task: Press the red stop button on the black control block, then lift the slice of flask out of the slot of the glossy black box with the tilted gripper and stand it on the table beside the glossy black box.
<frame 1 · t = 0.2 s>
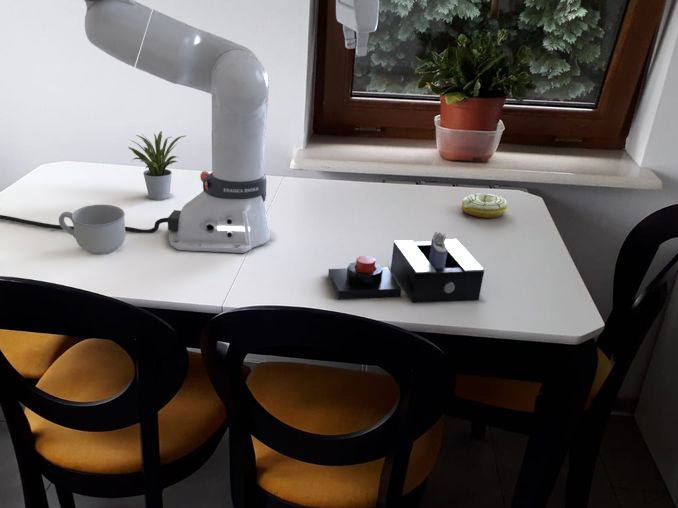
hand: (355, 51, 140), 39 cm above the table, tool pointing down, fingers open, 8 cm apart
teacup: (95, 248, 150), on the table
decorated donut: (482, 213, 175), on the table
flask: (432, 285, 138), resting in glossy black box
stop button: (365, 264, 134), point 5 cm above the table, slide at 0.1 cm
control block: (363, 286, 136), on the table
house plant: (162, 195, 181), on the table
glossy black box: (432, 284, 138), on the table
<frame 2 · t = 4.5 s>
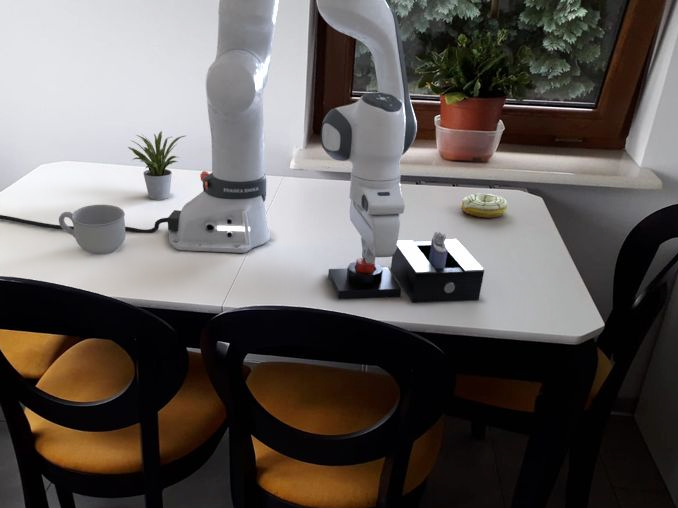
hand: (368, 260, 134), 5 cm above the table, tool pointing down, fingers closed, pressing on stop button
stop button: (365, 266, 134), point 4 cm above the table, slide at -0.2 cm, touching gripper
everything else where it was.
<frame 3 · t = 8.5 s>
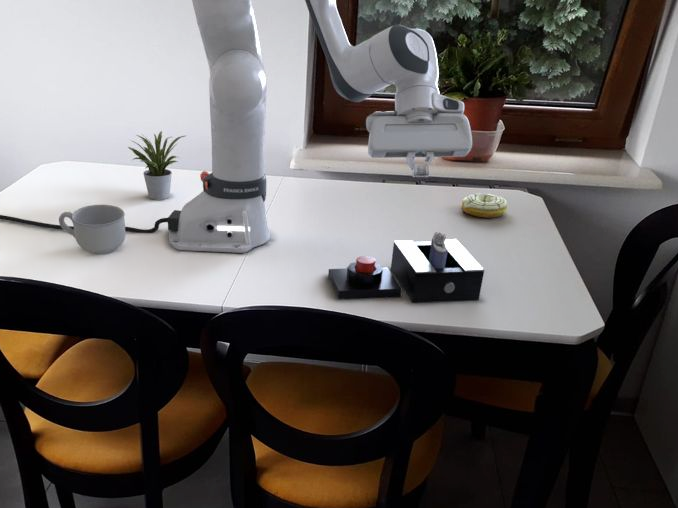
hand: (420, 176, 138), 18 cm above the table, tool tilted 40°, fingers closed
stop button: (365, 264, 134), point 5 cm above the table, slide at 0.1 cm
everything else where it was.
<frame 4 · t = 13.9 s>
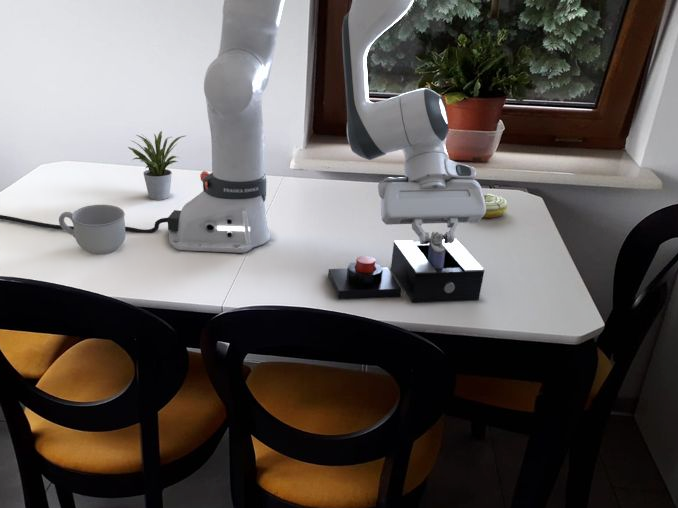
hand: (437, 242, 135), 8 cm above the table, tool tilted 45°, fingers closed on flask, 3 cm apart
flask: (432, 285, 138), resting in glossy black box, touching gripper
everything else where it was.
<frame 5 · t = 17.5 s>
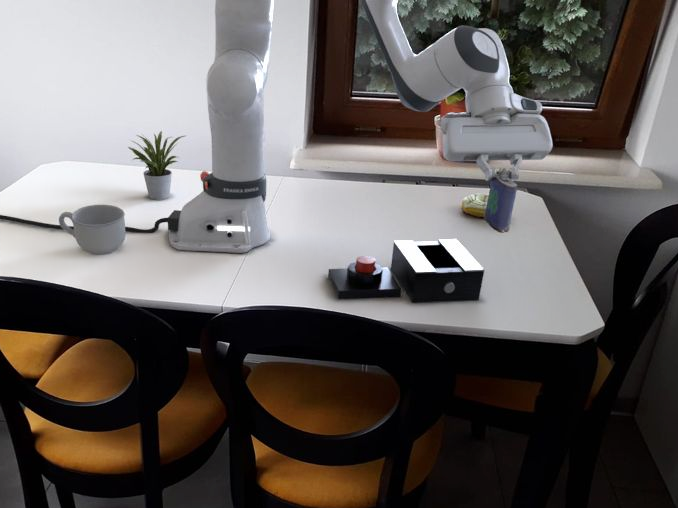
hand: (502, 179, 130), 21 cm above the table, tool tilted 45°, fingers closed on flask, 3 cm apart
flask: (495, 225, 133), point 12 cm above the table, touching gripper
everything else where it was.
when the fingers open (8 cm above the table, at t = 21.6 s): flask stays where it is, on the table.
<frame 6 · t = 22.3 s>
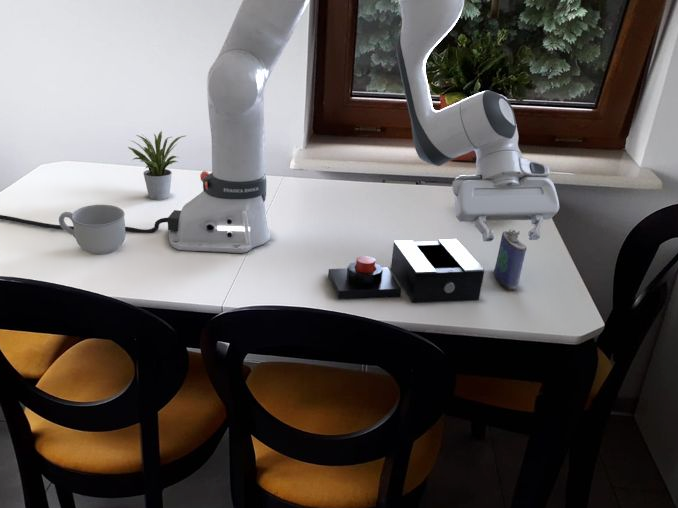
hand: (512, 239, 136), 9 cm above the table, tool tilted 45°, fingers open, 8 cm apart
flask: (504, 282, 140), on the table
everything else where it was.
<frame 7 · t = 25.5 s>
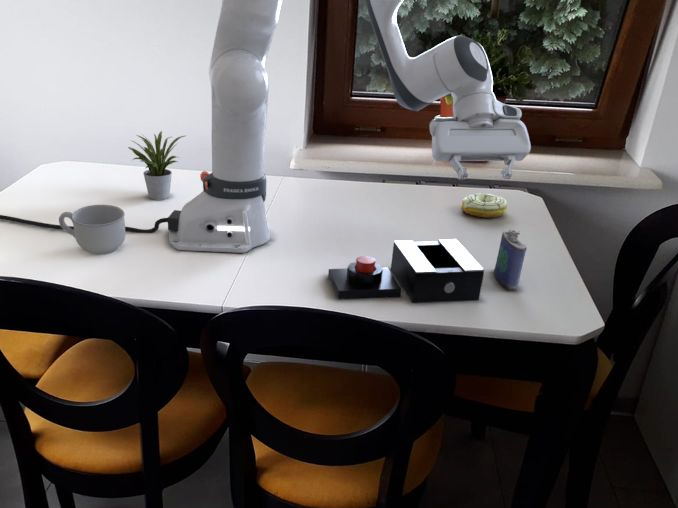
hand: (485, 177, 144), 17 cm above the table, tool tilted 45°, fingers open, 8 cm apart
nothing on the table moved.
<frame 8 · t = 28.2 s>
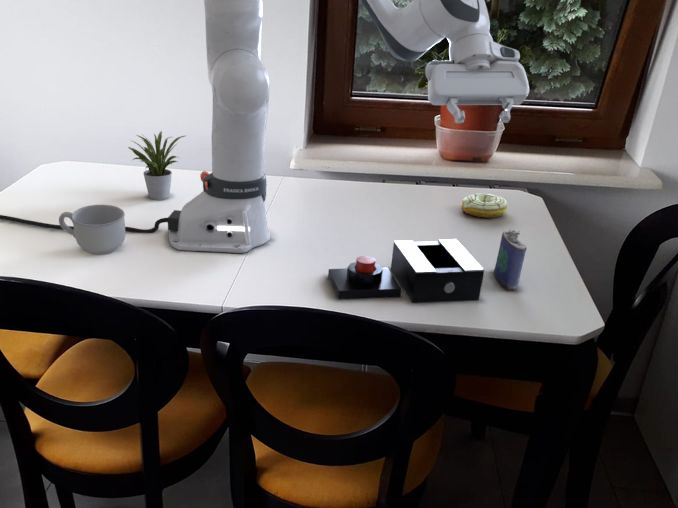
hand: (483, 121, 140), 27 cm above the table, tool tilted 45°, fingers open, 8 cm apart
nothing on the table moved.
at the end: stop button pushed in 1.1 cm at the most during the clip, back to where it started at the end; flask inside the target area (0.3 cm from its centre), on the table; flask tilted 0° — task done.
